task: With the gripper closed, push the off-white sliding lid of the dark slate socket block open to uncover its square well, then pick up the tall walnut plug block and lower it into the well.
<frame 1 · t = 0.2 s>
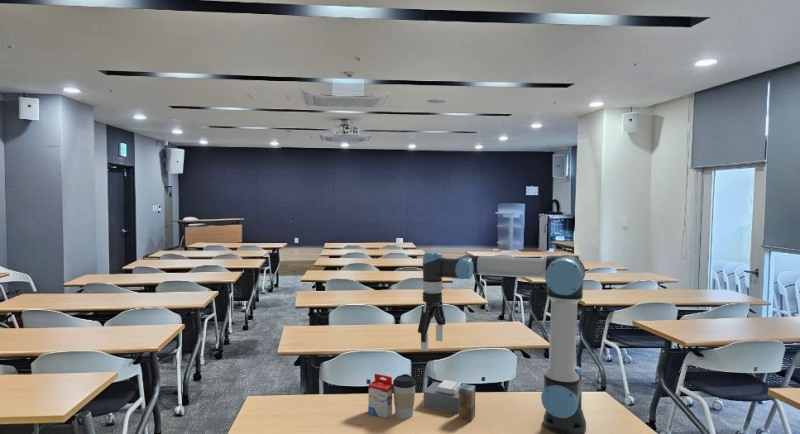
hand: (432, 345, 181), 27 cm above the table, fingers open, 13 cm apart
plug: (467, 417, 179), on the table
coffee cup: (404, 415, 181), on the table
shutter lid: (449, 386, 190), point 7 cm above the table, slide at 0.0 cm
ink box: (380, 414, 182), on the table
socket block: (449, 404, 190), on the table
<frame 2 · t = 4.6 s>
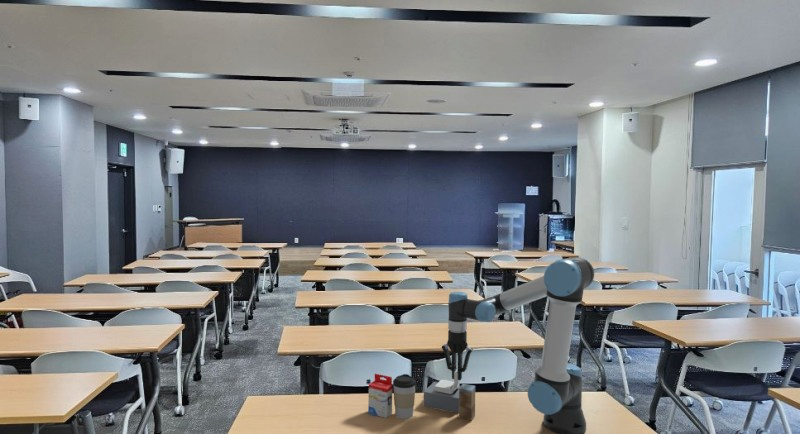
hand: (456, 387, 189), 8 cm above the table, fingers closed
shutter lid: (446, 386, 191), point 7 cm above the table, slide at 1.3 cm, touching gripper
everything else where it was.
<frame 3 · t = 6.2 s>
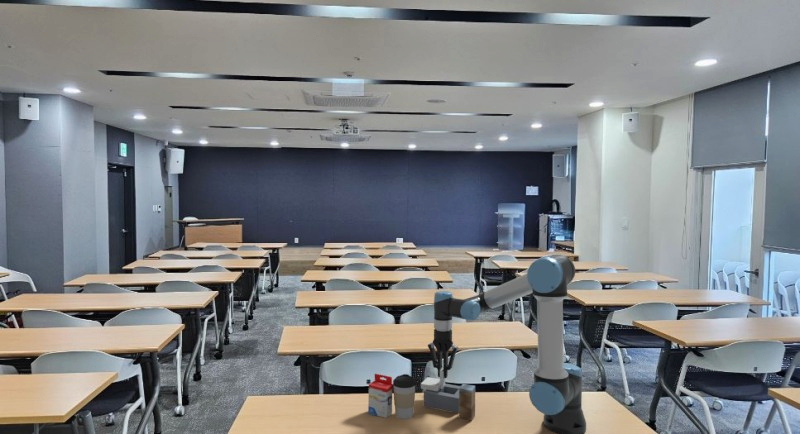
hand: (442, 385, 192), 8 cm above the table, fingers closed
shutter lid: (432, 383, 193), point 7 cm above the table, slide at 7.4 cm, touching gripper
everything else where it was.
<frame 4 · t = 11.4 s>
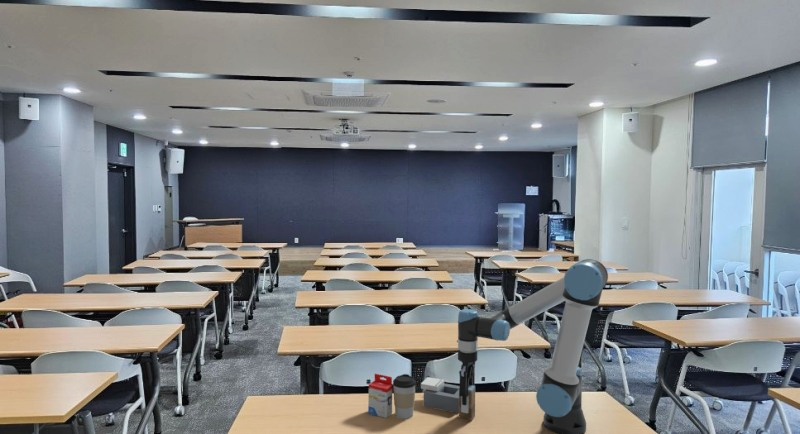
hand: (467, 409, 179), 3 cm above the table, fingers closed on plug, 5 cm apart
plug: (466, 417, 179), on the table, touching gripper
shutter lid: (432, 383, 193), point 7 cm above the table, slide at 7.4 cm
everything else where it was.
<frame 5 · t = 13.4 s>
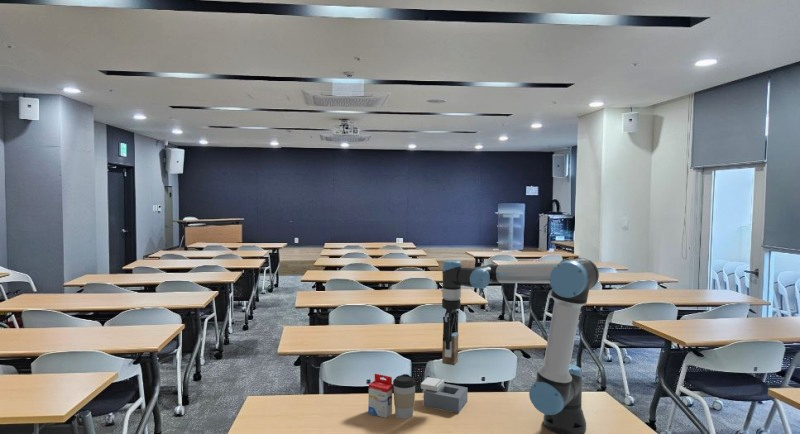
hand: (450, 354, 189), 21 cm above the table, fingers closed on plug, 5 cm apart
plug: (450, 362, 189), point 18 cm above the table, touching gripper
everything else where it was.
when the fingers open (7 cm above the table, at t = 15.5 s): plug drops 2 cm, resting on socket block.
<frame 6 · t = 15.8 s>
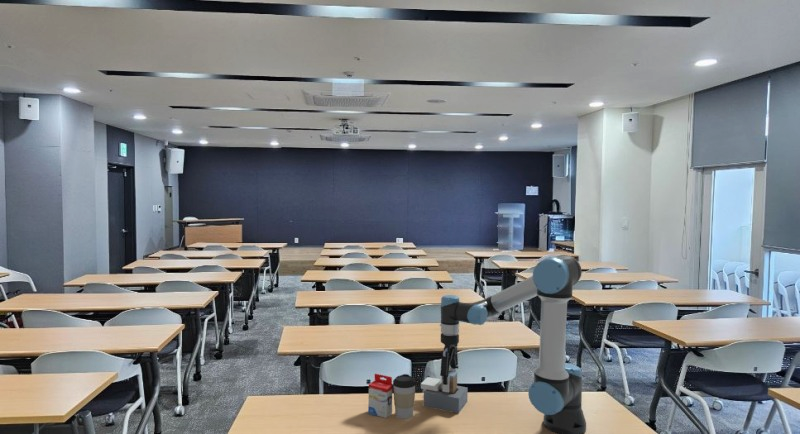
hand: (449, 387, 190), 7 cm above the table, fingers open, 8 cm apart
plug: (449, 401, 191), point 1 cm above the table, touching socket block
everything else where it was.
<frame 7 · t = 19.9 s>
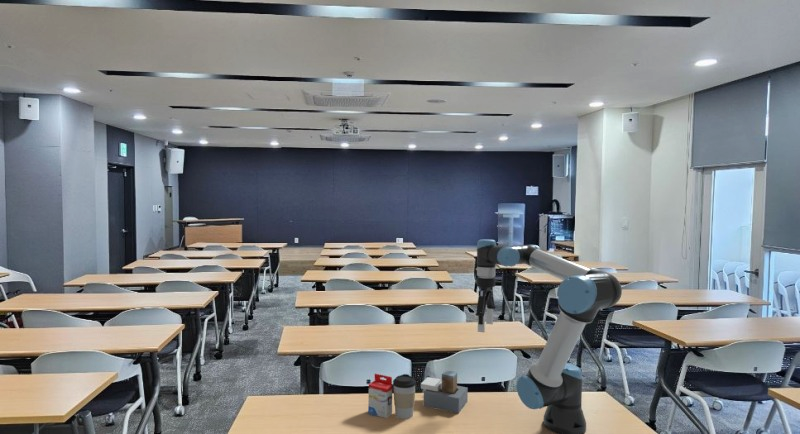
hand: (485, 327, 191), 32 cm above the table, fingers open, 13 cm apart
nothing on the table moved.
at the end: plug 0.1 cm off-centre on the socket block, point 1.1 cm above the socket block's base; plug tilted 0°; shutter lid slide at 7.4 cm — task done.
